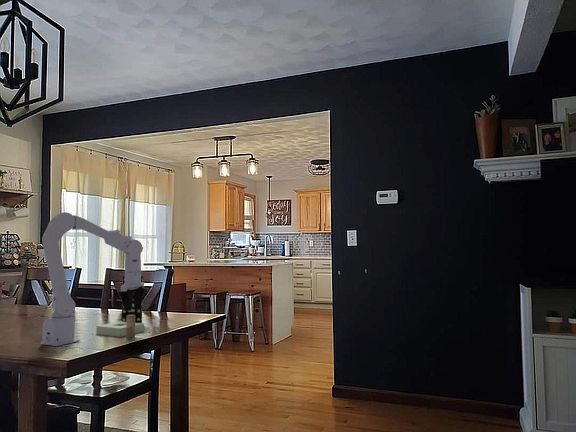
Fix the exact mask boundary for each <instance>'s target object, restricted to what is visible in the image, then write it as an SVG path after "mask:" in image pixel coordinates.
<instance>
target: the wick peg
mask: <svg viewBox="0 0 576 432" xmlns="http://www.w3.org/2000/svg"><path fill="white" fill-rule="evenodd" d="M125 338H126V340H133V339H135V338H136V333H135V315H127V318H126V336H125Z"/></svg>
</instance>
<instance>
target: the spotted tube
mask: <svg viewBox="0 0 576 432" xmlns="http://www.w3.org/2000/svg"><path fill="white" fill-rule="evenodd" d="M141 282H144V275H141ZM121 283H122V285H124V284H125V275H123V276H122V280H121ZM122 285H121V286H122ZM133 288H134V287H133ZM130 291H131V290H130ZM127 315H135V323H143V303H142V304H141V308H135V307H134V299H133V300H132V308H131V311H125V309H124V306H123V302H122V301H121V321H122V322H126V318H127Z"/></svg>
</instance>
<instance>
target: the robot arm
mask: <svg viewBox="0 0 576 432" xmlns="http://www.w3.org/2000/svg"><path fill="white" fill-rule="evenodd" d="M71 230H72V231H73V230H75V231H77V230H82V231H84V232H87V233H90V234H91V235H94V236H97V237H99V238H101V239H102V240H104V243H105V245H107V246H111V247H112V248H115V249H117V250H119V251H123V254H124V276H125V284H124V285H120V291H118V295H119V297H120V299H121V303H122V302H123V306H124V309H125V311H131V308H132V300H133V299H134V307H135V308H141V304H142V305H143V299H144V296H145V294H146V292H147V287H145V282H144V281H143V282H141V276H142V259H141V257H142V256H141V255H142V252H143V249H144V247H143V244H142V243H141V242H140V240H138V239H132V238H133V237H132V236H131V235H128V236H127V235H126V234H125V233H121V230H120V229H111V230H107V229H105V228H103V227H101V226H99V225H98V224H95V223H93V222H92V221H89V220H87V218H86V219H85V218H83V217H80V216H79V215H75V214H72V213H70V212H68V211H67V212H60V213H58V214H56V215H55V216H54V217H53V218H52V219H51V220H50V221H49V222H48V225H47V227H46V228H45V231H44V232H43V234H42V235H43V236H42V237H41V242H42V247H43V251H44V257H45V261H46V265H47V269H48V274H49V279H50V284H51V288H52V297H53V298H52V299H53V300H52V303H51V307H52V309H53V311H54V312H52V313H51V316H50V317H49V318H46V319H45V320H44V322H43V324H42V336H41V342H40V345H47V346H53V347H58V346H62V345H63V346H64V345H67V344H71V343H77V342H80V341H81V340H80V339H78V338H75V325H76V323H75V321H76V313H74V312H75V311H76V302H75V301H74V299H73V298H72V297H71V293H70V290H69V289H70V288H69V287H68V282H67V278H66V272H65V268H64V264H63V259H62V254H61V249H60V245H59V241H60V240H61V239H62V237H64V235H65V234H66V233H68V232H70V231H71ZM133 287H134V288H133ZM130 290H131V291H130Z"/></svg>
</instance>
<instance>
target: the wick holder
mask: <svg viewBox="0 0 576 432" xmlns="http://www.w3.org/2000/svg"><path fill="white" fill-rule="evenodd" d="M142 332H145V322H144V323H143V322H142V323H135V334H139V333H142ZM95 333H96V335H101V336H109V337H117V338H119V337H120V338H121V337H126V322H122V320H121V321H116V322H115V321H114V322H110V323H107V324H106V323H105V324H100V325H96V332H95Z"/></svg>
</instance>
